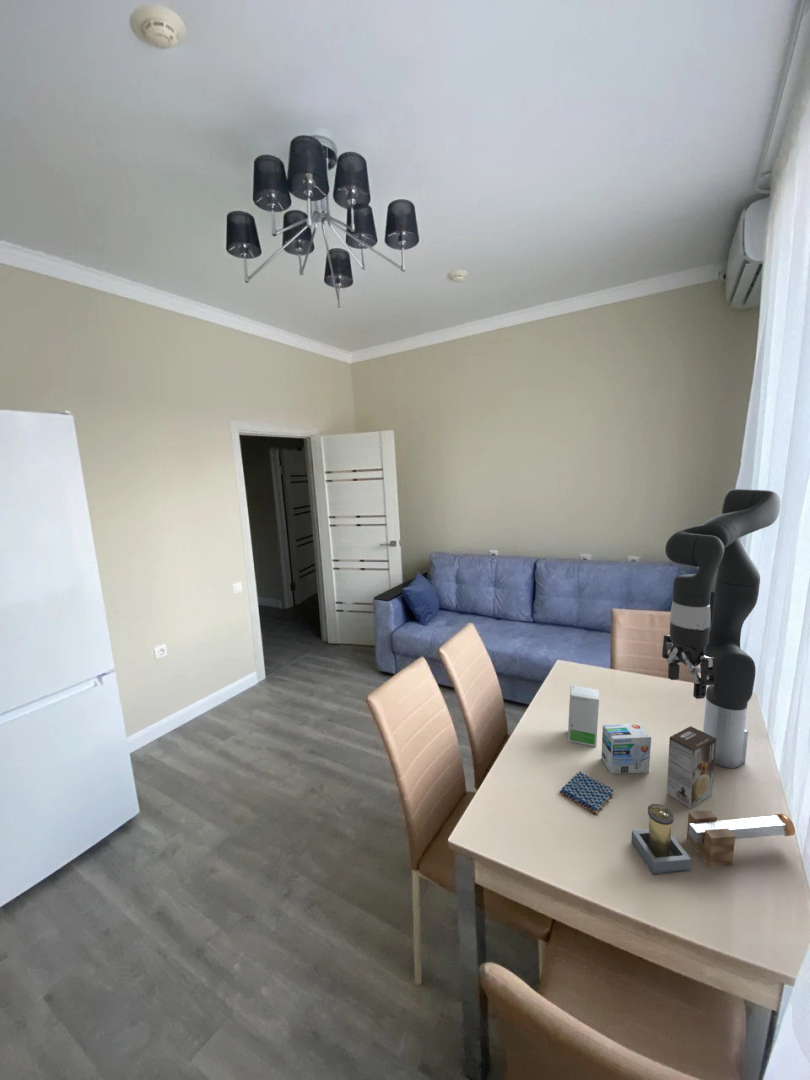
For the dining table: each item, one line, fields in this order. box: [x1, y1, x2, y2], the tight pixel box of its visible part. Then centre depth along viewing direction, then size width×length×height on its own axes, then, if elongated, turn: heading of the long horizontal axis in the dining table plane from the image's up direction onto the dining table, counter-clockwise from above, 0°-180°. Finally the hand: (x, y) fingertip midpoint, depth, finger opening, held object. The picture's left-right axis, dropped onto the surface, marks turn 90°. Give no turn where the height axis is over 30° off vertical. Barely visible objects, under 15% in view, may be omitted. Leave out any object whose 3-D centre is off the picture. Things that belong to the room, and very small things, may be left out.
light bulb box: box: [600, 722, 652, 775], centre depth 122 cm, size 11×7×11 cm, turn 90°
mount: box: [686, 809, 736, 868], centre depth 95 cm, size 5×7×7 cm
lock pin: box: [689, 813, 796, 843], centre depth 95 cm, size 21×4×4 cm, turn 93°
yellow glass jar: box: [647, 803, 675, 858], centre depth 94 cm, size 5×5×10 cm
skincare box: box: [567, 684, 600, 748], centre depth 134 cm, size 8×7×16 cm
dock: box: [630, 828, 692, 876], centre depth 95 cm, size 8×8×3 cm
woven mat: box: [559, 771, 615, 815], centre depth 113 cm, size 10×11×2 cm
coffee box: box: [666, 725, 716, 809], centre depth 110 cm, size 9×6×16 cm
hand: (685, 688), depth 102 cm, fingers open, 8 cm apart
